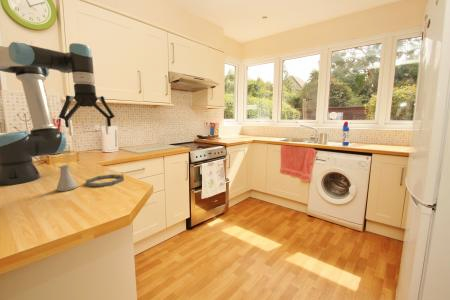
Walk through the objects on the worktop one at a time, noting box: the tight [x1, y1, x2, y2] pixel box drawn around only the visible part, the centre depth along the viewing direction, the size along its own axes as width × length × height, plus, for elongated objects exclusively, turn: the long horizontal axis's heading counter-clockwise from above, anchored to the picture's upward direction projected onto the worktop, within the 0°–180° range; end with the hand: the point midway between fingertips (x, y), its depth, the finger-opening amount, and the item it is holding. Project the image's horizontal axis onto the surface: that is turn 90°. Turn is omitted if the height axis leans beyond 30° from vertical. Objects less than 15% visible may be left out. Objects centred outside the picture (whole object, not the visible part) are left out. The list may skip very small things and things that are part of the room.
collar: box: [85, 173, 125, 188], centre depth 98 cm, size 15×15×2 cm
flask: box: [55, 164, 79, 192], centre depth 89 cm, size 7×7×10 cm
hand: (90, 134), depth 92 cm, fingers open, 13 cm apart
